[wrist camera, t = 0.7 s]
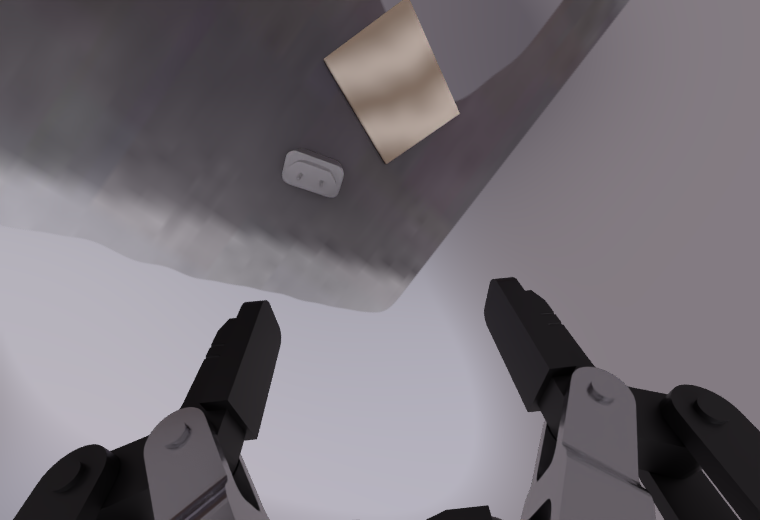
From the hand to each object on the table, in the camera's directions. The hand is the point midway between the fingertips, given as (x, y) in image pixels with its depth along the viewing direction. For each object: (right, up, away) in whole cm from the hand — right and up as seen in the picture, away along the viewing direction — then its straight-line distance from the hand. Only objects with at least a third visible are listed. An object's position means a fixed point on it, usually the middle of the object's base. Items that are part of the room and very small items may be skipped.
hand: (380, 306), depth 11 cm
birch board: (+2, +20, +21) cm, 29 cm away
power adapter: (-7, +13, +23) cm, 27 cm away
